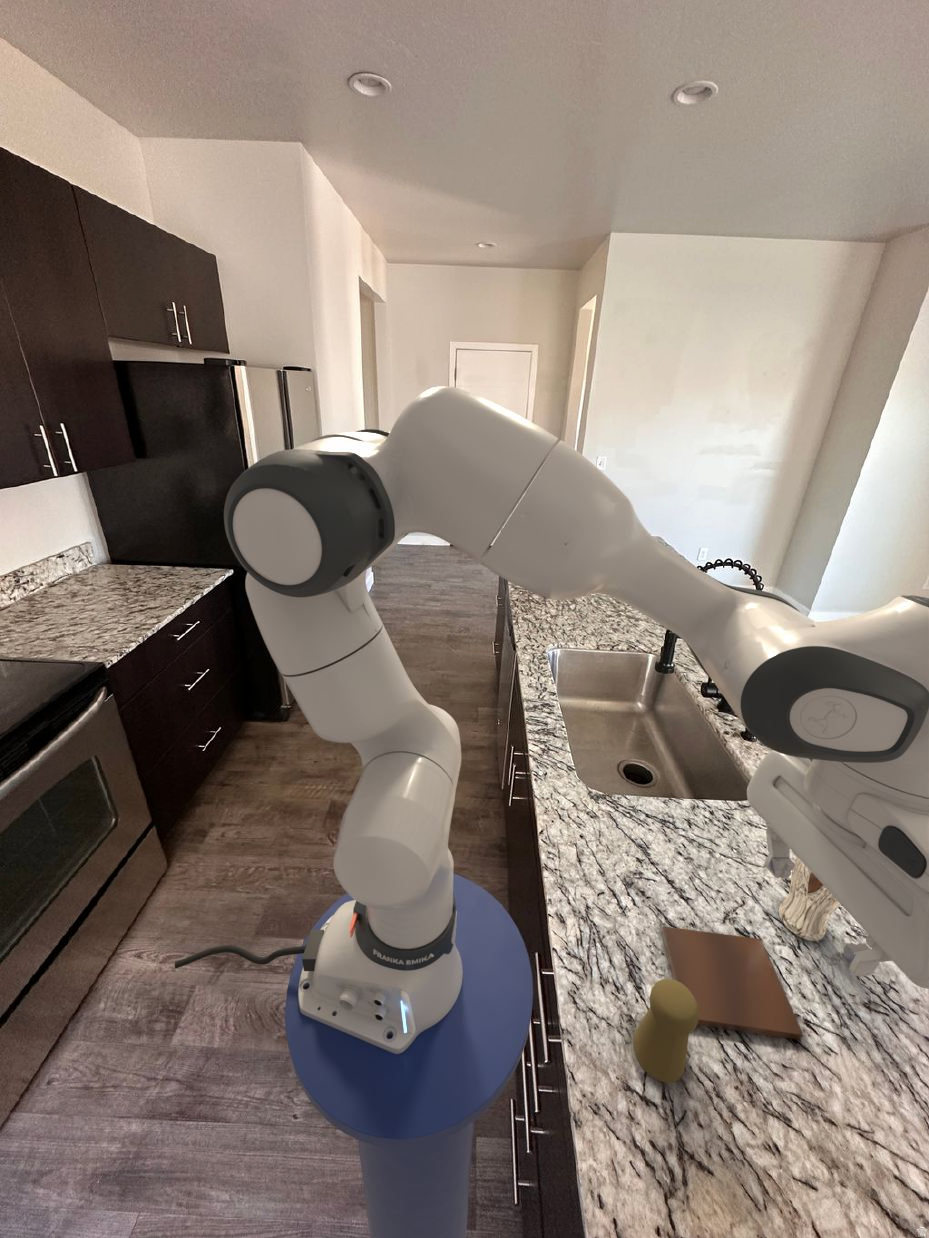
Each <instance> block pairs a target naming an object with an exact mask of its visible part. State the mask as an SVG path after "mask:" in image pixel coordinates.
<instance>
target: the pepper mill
mask: <svg viewBox="0 0 929 1238" xmlns="http://www.w3.org/2000/svg"><path fill="white" fill-rule="evenodd" d="M698 1019H699V1010H698V1004H697V1002H696V1000H695V998H694V996H693V995H692V993H691V992H690V991H689V989H688V988H687V987H685V986H684V985H683V984H682V983H680V982H678V981H676V980H673V978H662V979H660V980H658V981H656V982H655V983H654V984H653V986H652V987H651V990H650V994H649V1007H648V1010H647V1012H646V1013H645V1015H644V1016H643V1018H642V1020H641V1021H640V1023H639V1025H638V1026H637V1028H636V1029H635V1031H634V1034H633V1038H632V1043H633V1044H632V1045H633V1046H632V1048H633V1052H634V1055H635V1058H636V1060H637V1062H638V1063H639V1065H640V1067H641V1068H642V1069H643V1070H644V1071H645V1072H646V1073H647V1075H649V1076H650V1077H652V1078H653V1079H655V1080H656V1081H658V1082H662V1083H665V1084H669V1083H671V1084H672V1083H675V1082H677V1081H679V1080H680V1079H681V1078H682V1076H683V1075H684V1073H685V1068H686V1063H687V1052H688V1045H689V1038H690V1037H689V1036H690V1034H691V1033H693V1032H694V1031H695V1030H696V1028H697V1026H698V1025H697V1024H698Z"/></svg>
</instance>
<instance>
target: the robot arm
mask: <svg viewBox="0 0 929 1238" xmlns="http://www.w3.org/2000/svg"><path fill="white" fill-rule="evenodd" d="M558 440H559V438H558V437H557V436H555V435H553V434H552V433H550V432H549V431H547V430H546V429H544V428H543V427H542V426H539V425H538V424H536V423H534V422H532V421H530V420H529V419H527V418H525V417H524V416H522V415H520V414H518V413H516V412H515V411H512V410H510V409H508V408H506V407H504V406H502V405H500V404H497V403H496V402H494V401H491V400H489V399H486V398H484V397H482V396H479V395H477V394H474V393H471V392H469V391H466V390H463V389H461V388H458V387H455V386H450V385H449V386H447V385H443V386H436V387H431V388H430V389H427V390H426V391H425V390H424V391H423V392H421V393H420V394H419V395H418V396H416V397H414V398H413V399H412V400H411V401H410V402H409V403H408V404H407V405H406V406H405V407H404V408H403V409H402V411H401V412H400V414H399V415H398V417H397V418H396V420H395V422H394V424H393V425H392V428H391V429H390V431H386V430H381V429H373V428H366V429H360V430H357V431H348V432H347V431H346V432H336V433H330V434H325V435H322V436H318V437H317V438H314V439H312V440H311V441H309V442H306V443H304V444H301V445H298V446H296V447H294V448H292V449H291V448H290V449H283V450H279V451H276V452H272V453H271V454H269V455H266V456H265V457H263V458H261V459H259V460H257V461H256V462H255V463H253V464H252V465H250V466H249V467H248V468H247V469H245V470H244V471H243V472H242V473H241V474H240V475H239V476H238V477H236V479H235V480H234V482H233V483H232V485H231V486H230V488H229V490H228V492H227V494H226V498H225V502H224V507H223V524H224V530H225V534H226V538H227V541H228V543H229V545H230V548H231V551H232V552H233V554H234V556H235V558H236V559H237V561H238V563H240V565H241V567H242V568H243V569H244V570H245V571H246V572H247V573H246V575H245V583H244V584H245V592H246V595H247V598H248V602H249V605H250V609H251V611H252V614H253V617H254V620H255V622H256V625H257V627H258V630H259V632H260V635H261V637H262V639H263V642H264V644H265V646H266V648H267V651H268V652H269V655H270V657H271V659H272V660H273V662H274V664H275V666H276V668H277V670H278V671H279V673H280V675H281V677H282V679H283V680H284V682H285V683H286V685H287V687H288V689H289V691H290V692H291V695H292V697H293V698H294V700H295V701H296V703H297V705H298V707H299V709H300V710H301V712H302V714H303V715H304V717H305V719H306V721H307V723H308V724H309V726H310V728H311V729H312V731H313V732H314V733H315V735H316V736H318V737H319V738H321V739H322V740H325V741H327V742H331V743H338V744H350V745H352V746H353V747H354V749H355V750H356V751H357V753H358V754H359V757H360V761H361V770H362V771H361V774H360V777H359V780H358V782H357V783H356V786H355V788H354V790H353V792H352V794H351V797H350V799H349V801H348V803H347V806H346V808H345V810H344V812H343V815H342V817H341V822H340V825H339V829H338V835H337V839H336V845H335V850H334V854H333V855H334V856H333V863H332V865H333V871H334V875H335V878H336V879H337V881H338V883H339V884H340V886H341V887H342V889H343V890H344V891H345V892H346V893H348V894H349V895H350V896H351V897H352V898H354V899H355V900H353V901H349V902H346V903H344V904H343V905H342V906H340V907H339V908H338V910H337V911H336V912H335V914H334V915H333V916H332V917H331V918H329V919H328V921H327V922H326V923H325V924H324V925H323V927H322V928H321V929H320V930H319V929H312V928H311V929H310V930H309V933H308V935H309V937H308V940H307V944H306V946H302V945H299V946H292V947H284V948H281V949H277V950H274V951H273V952H271V953H270V954H269V955H268V956H258V955H256V954H254V953H252V952H249V951H248V950H246V949H244V948H242V947H239V946H236V945H229V944H228V945H227V944H226V945H219V946H214V947H209V948H206V949H204V950H201V951H199V952H197V953H194V954H192V955H190V956H186V957H184V958H182V959H179V960H176V961H175V962H174V969H175V970H176V969H179V968H183V967H185V966H188V965H190V964H192V963H195V962H196V961H197V962H198V961H199V960H203V959H204V958H207V957H210V956H213V955H218V954H224V953H226V954H228V953H229V954H234V955H237V956H240V957H242V958H244V959H245V960H247V961H248V962H250V963H253V964H256V965H261V966H262V965H268V964H270V963H271V962H273V961H274V960H275V959H277V958H281V957H285V956H291V955H293V956H294V955H298V954H303V953H304V954H303V958H302V962H303V969H302V973H301V977H300V982H299V990H298V1001H299V1008H300V1012H301V1013H302V1014H304V1015H305V1016H308V1017H310V1018H312V1019H314V1020H317V1021H319V1022H321V1023H324V1024H326V1025H328V1026H331V1027H333V1028H335V1029H338V1030H340V1031H342V1032H345V1033H347V1034H349V1035H352V1036H354V1037H357V1038H359V1039H361V1040H364V1041H366V1042H368V1043H371V1044H373V1045H375V1046H378V1047H380V1048H382V1049H385V1050H387V1051H389V1052H392V1053H394V1054H400V1053H402V1052H404V1051H405V1050H406V1049H407V1048H408V1047H409V1046H410V1044H411V1043H412V1042H413V1041H414V1039H415V1038H416V1037H417V1036H418V1035H419V1034H420V1033H421V1032H423V1031H424V1030H426V1029H428V1028H430V1027H431V1026H433V1025H435V1024H436V1023H438V1022H439V1021H440V1020H441V1019H442V1018H444V1017H445V1015H446V1014H447V1013H448V1012H449V1011H450V1010H451V1008H452V1007H453V1005H454V1004H455V1002H456V1000H457V998H458V995H459V992H460V989H461V985H462V979H463V967H462V961H461V957H460V954H459V952H458V949H457V947H456V945H455V938H456V925H457V911H456V903H455V898H454V894H453V874H454V871H455V870H454V868H455V863H454V857H453V855H452V851H451V849H449V838H450V832H451V831H450V830H451V825H452V818H453V813H454V812H453V811H454V805H455V801H456V800H455V799H456V792H457V786H458V781H459V777H460V771H461V766H462V744H461V735H460V729H459V727H458V724H457V722H456V720H455V719H454V718H453V717H452V716H451V714H449V713H448V712H447V711H446V710H444V709H443V708H440V707H439V706H437V705H434V704H430V703H428V701H426V700H425V699H424V698H423V696H422V695H421V694H420V692H419V691H418V690H417V689H416V687H415V686H414V684H413V683H412V681H411V679H410V677H409V675H408V673H407V671H406V669H405V667H404V665H403V663H402V661H401V659H400V656H399V655H398V652H397V651H396V649H395V646H394V644H393V642H392V640H391V638H390V635H389V633H388V632H387V630H386V627H385V625H384V623H383V621H382V619H381V617H380V615H379V613H378V611H377V609H376V607H375V604H374V602H373V600H372V599H371V596H370V594H369V591H368V587H367V578H366V577H367V570H368V569H370V568H372V567H373V566H375V565H376V564H377V563H379V562H380V561H382V560H383V559H384V558H386V557H387V556H389V555H390V554H391V553H392V552H393V550H394V549H395V548H396V546H397V545H398V544H399V543H400V542H401V540H402V539H404V538H406V537H407V536H408V535H409V534H414V533H422V534H427V535H431V536H434V537H437V538H439V539H441V540H443V541H444V542H447V543H448V544H450V545H451V546H453V547H455V548H456V549H458V550H459V551H461V552H462V553H463V554H465V555H467V556H468V557H470V558H471V559H472V560H474V561H476V562H477V563H480V565H481V566H483V567H485V568H486V569H488V570H489V571H491V572H492V573H494V574H495V575H497V576H498V577H500V578H502V579H504V580H505V581H507V582H510V583H511V584H513V585H515V586H517V587H519V588H522V589H524V590H526V591H529V592H531V593H533V594H536V595H539V596H540V597H544V598H546V599H548V600H552V601H566V600H573V599H577V598H580V597H583V596H585V595H592V594H593V595H594V594H596V595H597V594H599V595H605V596H609V597H612V598H614V599H617V600H619V601H621V602H623V603H624V604H626V605H628V606H629V607H631V608H632V609H634V610H636V611H637V612H639V613H641V614H642V615H644V616H646V617H647V618H649V619H651V620H652V621H654V622H656V623H657V624H659V625H660V626H662V627H664V628H665V629H666V630H668V631H670V632H672V633H674V634H675V635H676V636H678V637H679V638H680V639H681V640H682V641H683V642H684V643H685V644H686V646H687V648H688V649H689V651H690V653H691V654H692V656H693V658H694V660H695V661H696V663H697V664H698V666H699V667H700V668H701V670H702V671H703V672H704V673H705V674H706V675H707V677H709V679H710V680H712V682H713V684H714V685H715V686H716V688H717V689H718V690H719V692H720V693H721V695H722V696H723V698H724V699H725V700H726V701H727V704H728V706H730V708H731V710H732V711H733V712H734V714H735V716H737V718H738V719H739V720H740V721H741V723H742V724H743V726H744V727H745V728H746V729H747V731H748V732H749V733H750V734H751V735H752V736H753V737H754V738H755V739H756V740H757V741H758V742H759V743H761V744H762V745H763V746H765V747H767V748H768V749H770V750H769V752H768V753H767V754H766V755H765V756H764V757H763V758H762V760H761V761H760V763H759V764H758V766H757V768H756V770H755V772H754V773H753V775H752V777H751V779H750V781H749V783H748V785H747V788H746V797H747V798H746V799H747V803H748V804H749V805H750V807H751V808H752V809H753V810H754V811H755V812H756V813H757V814H758V815H759V817H760V818H761V819H762V820H763V821H764V822H765V823H766V824H767V828H766V830H765V835H766V836H765V837H766V844H767V852H768V854H767V857H766V859H765V861H764V866H765V867H766V869H768V871H769V873H771V875H772V876H773V877H774V878H775V879H779V878H781V879H787V878H790V876H792V870H793V868H794V866H795V864H794V861H793V860H792V859H791V857H790V850H791V852H793V853H794V855H795V856H796V857H798V858H799V859H800V860H801V861H802V862H803V863H804V864H805V865H806V867H807V868H808V869H809V870H810V871H811V872H812V873H813V874H814V875H815V876H816V877H817V879H818V880H819V881H820V882H821V883H822V884H823V885H824V886H825V887H826V888H827V890H828V891H829V892H830V893H831V894H832V895H833V896H834V897H835V898H836V899H837V900H838V902H839V903H840V904H841V905H840V906H842V908H844V909H845V911H846V912H847V913H848V914H849V915H850V916H851V917H852V918H853V919H854V920H855V921H856V922H857V924H858V925H859V926H860V928H862V929H863V931H864V932H865V933H867V938H866V939H865V942H863V943H861V942H859V943H857V944H856V943H854V942H853V943H852V942H851V943H850V942H849V943H845V945H844V947H843V950H842V951H843V952H841V953H840V954H839V957H840V958H841V960H842V961H843V962H844V964H845V965H846V966H847V967H848V969H849V970H850V971H851V973H852V974H853V975H854V976H855V977H867V976H871V975H872V974H874V973H875V971H876V969H877V968H878V967H879V965H880V963H884V962H893V963H894V964H895V965H896V967H897V968H899V969H900V971H901V972H902V973H903V974H904V975H905V977H907V979H908V980H909V981H910V982H911V983H912V984H914V985H915V986H917V987H919V988H923V989H928V990H929V598H928V597H924V596H918V595H914V594H913V595H899V596H897V597H895V598H893V600H891V601H890V602H888V603H887V604H884V605H883V606H881V607H878V608H875V609H872V610H869V611H866V612H864V613H860V614H856V615H852V616H848V617H844V618H839V619H833V620H832V619H831V620H826V621H816V620H813V619H812V618H810V617H809V616H807V615H805V614H804V613H802V612H801V611H800V610H799V609H798V608H797V607H795V606H794V605H793V604H792V603H791V602H789V601H788V600H786V599H785V598H783V597H782V596H779V595H777V594H775V593H772V592H768V591H764V590H760V589H755V588H748V587H741V586H735V585H730V584H726V583H724V582H722V581H719V580H718V579H716V578H714V577H713V576H711V575H710V574H708V573H706V572H705V571H704V570H702V569H700V568H698V567H697V566H695V565H694V564H692V563H691V562H690V561H688V560H686V559H685V558H683V557H682V556H680V555H678V554H677V553H675V552H674V551H672V550H671V549H670V548H668V547H666V546H665V545H663V544H662V543H661V542H659V540H657V539H656V538H655V537H654V536H652V534H651V533H650V532H649V531H648V530H647V529H646V527H645V526H644V525H643V523H642V522H641V520H640V518H639V517H638V515H637V512H636V511H635V509H634V506H633V503H632V502H631V500H630V499H629V497H628V496H627V495H626V494H625V493H624V492H623V491H622V490H621V489H620V487H618V486H617V484H616V483H614V482H613V481H612V480H611V478H609V477H608V476H607V475H606V474H605V473H604V472H603V471H602V470H601V469H600V468H598V466H596V465H595V464H594V463H593V462H592V461H590V460H589V459H588V458H587V457H585V456H584V455H583V454H582V453H580V452H578V451H577V450H576V449H575V448H573V447H572V446H570V445H569V444H568V443H566V442H565V441H563V440H561V439H560V440H559V441H558ZM554 447H555V448H554ZM552 450H553V451H552ZM485 554H486V555H485ZM481 560H482V561H481ZM306 986H309V988H308V989H306V990H305V989H304V988H305V987H306ZM334 1015H336V1016H334ZM390 1034H391V1035H393V1037H392V1039H387V1036H388V1035H390Z"/></svg>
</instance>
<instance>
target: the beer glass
mask: <svg viewBox="0 0 929 1238" xmlns="http://www.w3.org/2000/svg"><path fill="white" fill-rule="evenodd" d="M793 863H794V864H795V866H794V868H793V870H791V875H790V876H791V877H790V885H789V891H788V894H787V896H786V897H785V899H784V900H783V901H782V902H781V904H780V905H779V907H778V917H779V919H780V921H781V922H782V923H783V925H784V926H785V927H786V928H787V929H788V930H789V931H790V932H791V933H792V934H794V935H795V936H797V937H799V938H801V939H803V940H806V941H809V942H819V941H821V940H823V938H824V937H825V935H826V931H827V924H828V921H829V919H830V917H831V916H832V915H833V914H834V913H835V912H836V910H838V909H839V908H840V907H841V906H842V905H841V904H840V903H839V902H838V900H837V899H836V898H835V897H834V896H833V895H832V894H831V893H830V892H829V891H828V890H827V888H826V887H825V886H824V885H823V884H822V883H821V882H820V881H819V880H818V879H817V877H816V876H815V875H814V874H813V873H812V872H811V871H810V870H809V869H808V868H807V867H806V865H805V864H804V863H803V862H802V861H801V860H800V859H799V858H798V857H797V856H796V857H795V860H794V861H793Z"/></svg>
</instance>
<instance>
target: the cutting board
mask: <svg viewBox="0 0 929 1238" xmlns="http://www.w3.org/2000/svg"><path fill="white" fill-rule="evenodd" d="M660 932H661V936H662V940H663V944H664V948H665V952H666V957H667V960H668V964H669V967H670V972H671V975H672V980H676V981H678V982H680V983H682V984H683V985H684V986H685V987H687V988H688V989H689V991H690V992H691V993H692V995H693V996H694V998H695V1000H696V1002H697V1004H698V1010H699V1019H698V1024H697V1026H702V1027H709V1028H714V1029H715V1028H716V1029H722V1030H729V1031H735V1032H736V1031H737V1032H743V1033H749V1034H756V1035H762V1036H770V1037H776V1038H783V1039H788V1040H789V1039H790V1040H796V1041H801V1039H802V1038H803V1036H804V1034H803V1032H802V1030H801V1029H802V1028H801V1027H800V1025H799V1022H798V1020H797V1018H796V1015H795V1013H794V1011H793V1009H792V1007H791V1004H790V1002H789V999H788V997H787V995H786V993H785V991H784V988H783V985H782V984H781V981H780V979H779V977H778V974H777V972H776V970H775V967H774V966H773V963H772V961H771V958H770V956H769V954H768V952H767V949H766V947H765V945H764V942H763V940H762V939H761V938H758V937H757V938H756V937H749V936H741V935H734V934H725V933H719V932H710V931H702V930H694V929H687V928H679V927H671V926H664V925H663V926H662V927H661V931H660Z"/></svg>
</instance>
